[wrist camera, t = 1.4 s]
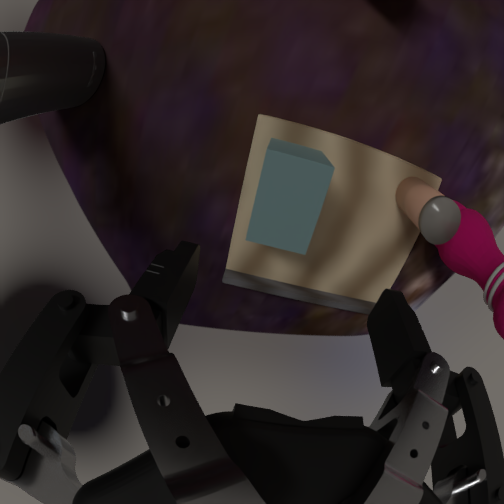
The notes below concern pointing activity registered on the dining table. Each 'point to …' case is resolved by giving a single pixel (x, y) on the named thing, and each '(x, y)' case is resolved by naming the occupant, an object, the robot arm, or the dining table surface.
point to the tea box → (289, 196)
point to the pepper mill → (478, 260)
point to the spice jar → (428, 210)
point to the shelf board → (330, 225)
